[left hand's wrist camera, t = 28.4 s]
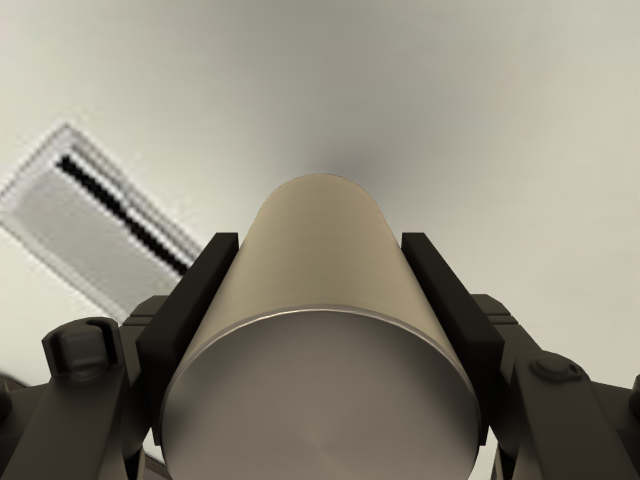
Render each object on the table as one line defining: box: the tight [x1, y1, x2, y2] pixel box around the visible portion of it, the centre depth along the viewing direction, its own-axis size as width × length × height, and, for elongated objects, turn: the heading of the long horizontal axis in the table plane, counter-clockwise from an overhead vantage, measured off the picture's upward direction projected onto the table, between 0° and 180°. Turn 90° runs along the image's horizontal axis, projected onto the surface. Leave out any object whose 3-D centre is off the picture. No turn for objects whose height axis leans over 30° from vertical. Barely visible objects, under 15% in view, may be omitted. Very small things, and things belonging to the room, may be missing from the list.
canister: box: [159, 174, 481, 480], centre depth 12 cm, size 6×6×11 cm
